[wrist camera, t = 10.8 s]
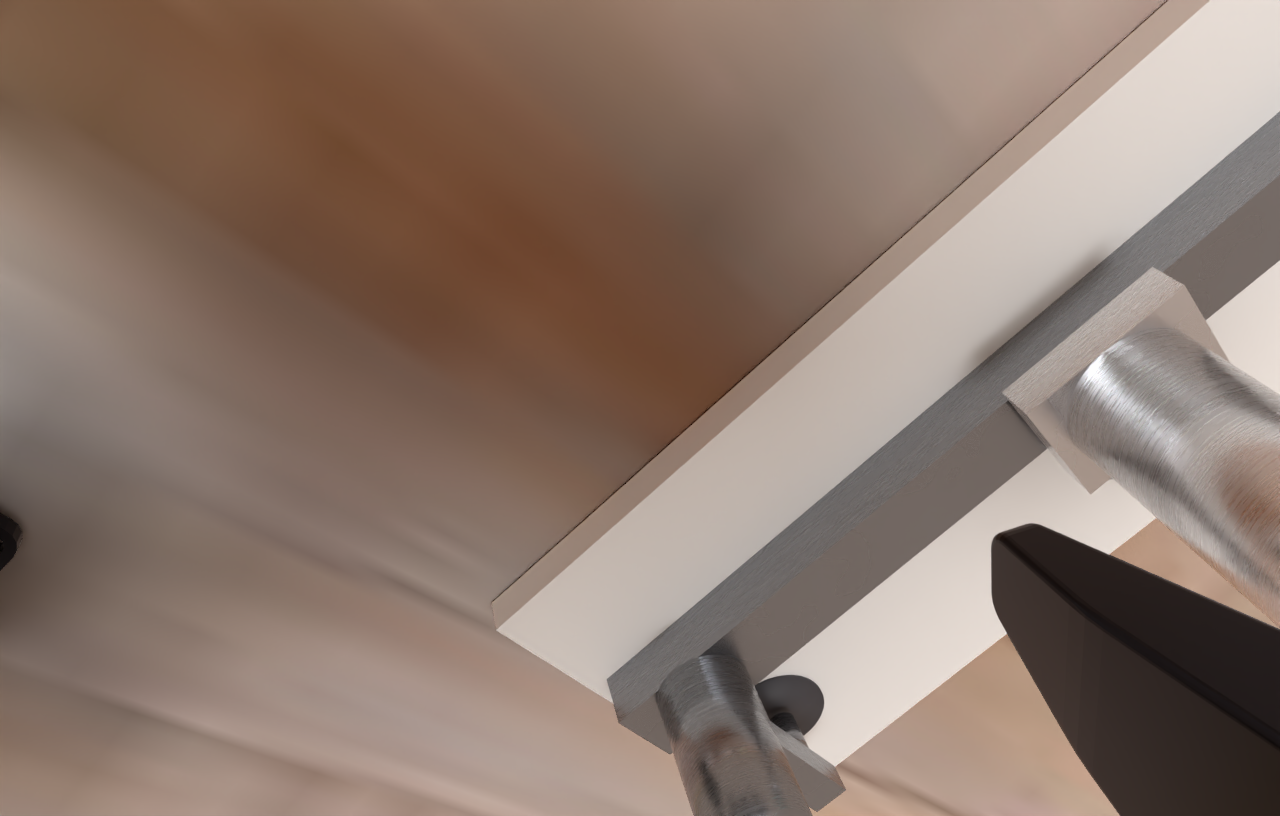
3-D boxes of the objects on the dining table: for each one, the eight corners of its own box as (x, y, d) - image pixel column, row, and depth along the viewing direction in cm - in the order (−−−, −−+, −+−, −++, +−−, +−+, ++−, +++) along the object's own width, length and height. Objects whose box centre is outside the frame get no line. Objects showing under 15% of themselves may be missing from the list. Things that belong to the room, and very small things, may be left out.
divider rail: (743, 767, 29) (823, 966, 24) (601, 675, 26) (658, 882, 21) (1513, 157, 25) (1810, 247, 19) (1453, -45, 21) (1790, -1, 16)
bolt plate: (769, 782, 32) (781, 811, 31) (491, 603, 25) (496, 633, 24) (1513, 199, 27) (1554, 213, 26) (1393, -200, 20) (1442, -201, 19)
